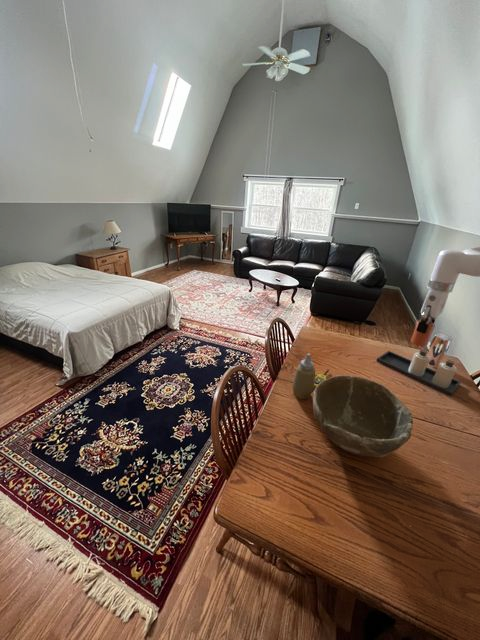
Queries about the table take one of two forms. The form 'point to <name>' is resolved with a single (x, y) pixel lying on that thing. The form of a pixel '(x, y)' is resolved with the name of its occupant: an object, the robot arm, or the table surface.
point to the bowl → (361, 415)
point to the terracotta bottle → (422, 335)
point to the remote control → (319, 379)
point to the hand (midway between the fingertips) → (423, 329)
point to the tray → (403, 366)
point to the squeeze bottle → (304, 378)
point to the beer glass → (438, 349)
